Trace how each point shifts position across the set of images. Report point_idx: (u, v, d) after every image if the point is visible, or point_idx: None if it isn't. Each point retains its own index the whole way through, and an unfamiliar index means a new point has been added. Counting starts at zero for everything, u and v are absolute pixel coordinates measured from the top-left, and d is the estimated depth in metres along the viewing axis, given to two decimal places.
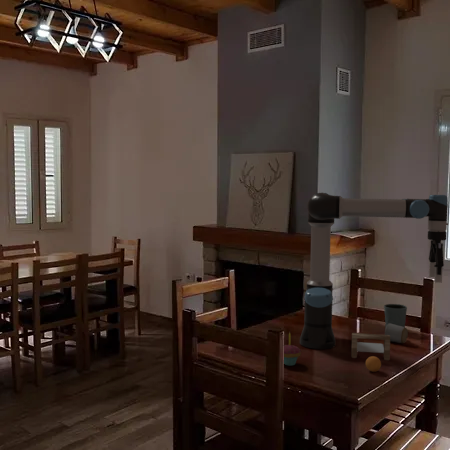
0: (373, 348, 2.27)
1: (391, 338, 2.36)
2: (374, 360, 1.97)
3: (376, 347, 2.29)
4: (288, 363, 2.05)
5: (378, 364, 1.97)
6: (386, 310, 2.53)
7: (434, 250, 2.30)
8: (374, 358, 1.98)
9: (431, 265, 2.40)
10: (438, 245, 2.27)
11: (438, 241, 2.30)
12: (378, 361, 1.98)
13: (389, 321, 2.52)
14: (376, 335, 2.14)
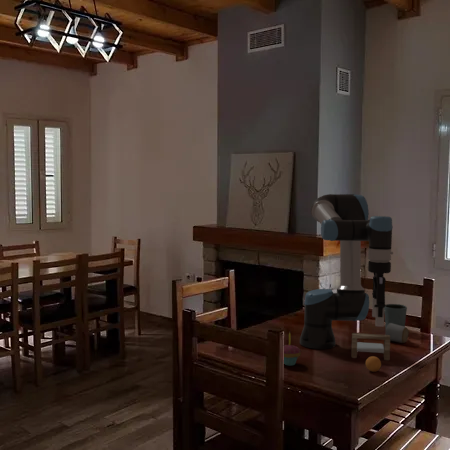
0: (373, 348, 2.27)
1: (392, 338, 2.36)
2: (374, 360, 1.97)
3: (376, 347, 2.29)
4: (288, 363, 2.05)
5: (378, 364, 1.97)
6: (386, 310, 2.53)
7: (375, 286, 1.85)
8: (374, 358, 1.98)
9: (375, 302, 1.95)
10: (379, 280, 1.81)
11: (380, 274, 1.84)
12: (378, 361, 1.98)
13: (389, 321, 2.52)
14: (376, 335, 2.14)
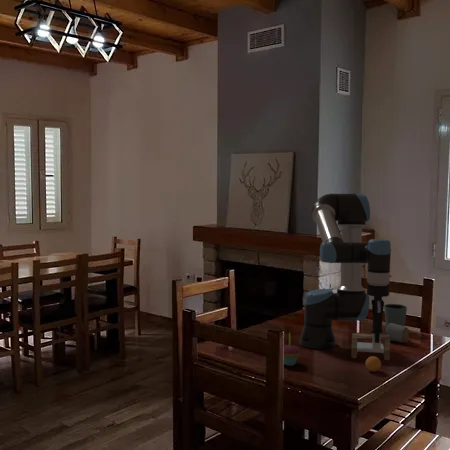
0: None
1: (392, 337, 2.37)
2: (374, 360, 1.97)
3: None
4: (288, 363, 2.05)
5: (378, 364, 1.97)
6: (386, 310, 2.53)
7: (373, 311, 1.87)
8: (374, 358, 1.98)
9: None
10: (377, 310, 1.82)
11: (378, 298, 1.84)
12: (378, 361, 1.98)
13: (389, 321, 2.52)
14: None
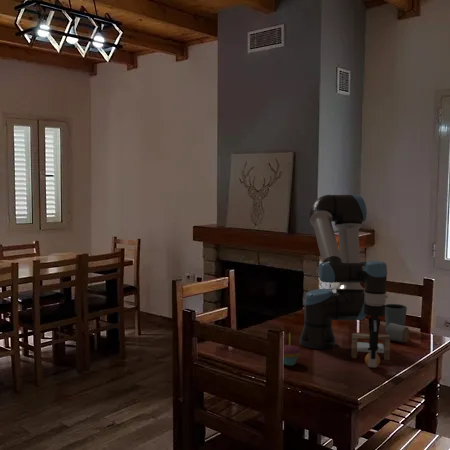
0: None
1: (393, 337, 2.37)
2: None
3: None
4: (288, 363, 2.05)
5: None
6: (386, 310, 2.53)
7: (370, 329, 1.98)
8: None
9: None
10: (373, 329, 1.93)
11: (375, 317, 1.95)
12: None
13: (389, 321, 2.52)
14: None
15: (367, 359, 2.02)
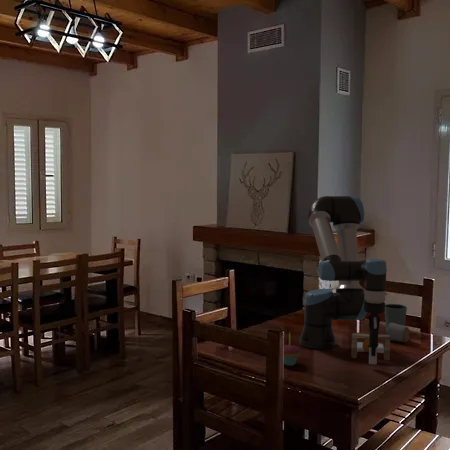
0: None
1: (393, 337, 2.37)
2: None
3: None
4: (288, 363, 2.05)
5: None
6: (386, 310, 2.53)
7: (370, 326, 2.00)
8: None
9: None
10: (373, 326, 1.96)
11: (375, 315, 1.97)
12: None
13: (389, 321, 2.52)
14: None
15: (364, 342, 2.21)
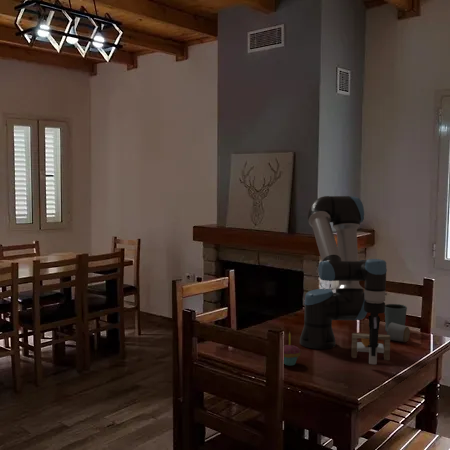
0: None
1: (393, 337, 2.37)
2: None
3: None
4: (288, 363, 2.05)
5: None
6: (386, 310, 2.53)
7: (370, 326, 2.00)
8: (369, 344, 2.28)
9: None
10: (373, 326, 1.96)
11: (375, 315, 1.97)
12: None
13: (389, 321, 2.52)
14: None
15: None
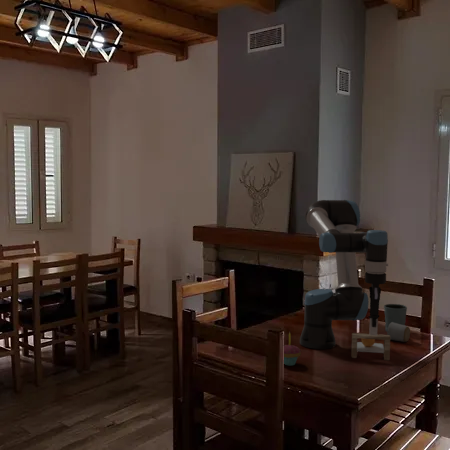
0: (373, 348, 2.27)
1: (394, 337, 2.38)
2: (368, 345, 2.28)
3: (376, 347, 2.29)
4: (288, 363, 2.05)
5: (372, 345, 2.29)
6: (386, 310, 2.53)
7: (371, 297, 1.99)
8: (369, 344, 2.28)
9: None
10: (374, 297, 1.95)
11: (376, 285, 1.97)
12: (372, 344, 2.28)
13: (389, 321, 2.52)
14: None
15: None
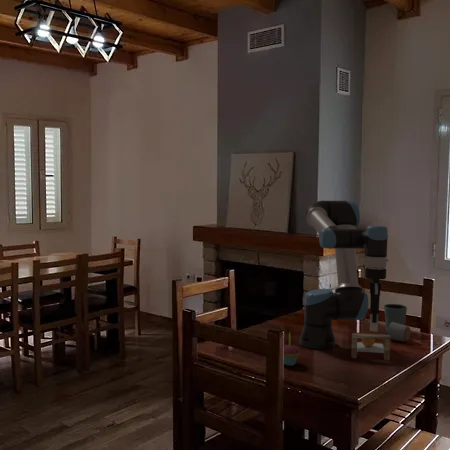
0: (373, 348, 2.27)
1: (394, 337, 2.38)
2: (368, 345, 2.28)
3: (376, 347, 2.29)
4: (288, 363, 2.05)
5: (372, 345, 2.29)
6: (386, 310, 2.53)
7: (371, 293, 1.99)
8: (369, 344, 2.28)
9: (372, 316, 2.01)
10: (374, 292, 1.95)
11: (376, 281, 1.96)
12: (372, 344, 2.28)
13: (389, 321, 2.52)
14: (376, 335, 2.14)
15: None
